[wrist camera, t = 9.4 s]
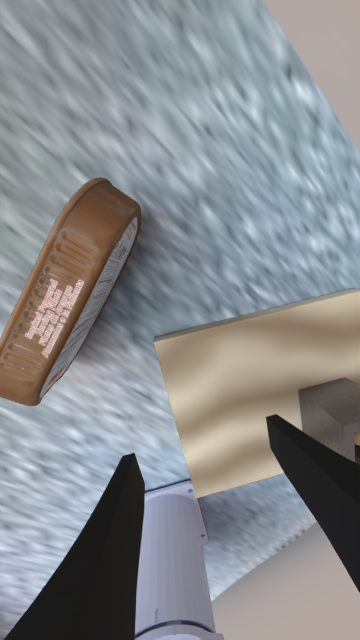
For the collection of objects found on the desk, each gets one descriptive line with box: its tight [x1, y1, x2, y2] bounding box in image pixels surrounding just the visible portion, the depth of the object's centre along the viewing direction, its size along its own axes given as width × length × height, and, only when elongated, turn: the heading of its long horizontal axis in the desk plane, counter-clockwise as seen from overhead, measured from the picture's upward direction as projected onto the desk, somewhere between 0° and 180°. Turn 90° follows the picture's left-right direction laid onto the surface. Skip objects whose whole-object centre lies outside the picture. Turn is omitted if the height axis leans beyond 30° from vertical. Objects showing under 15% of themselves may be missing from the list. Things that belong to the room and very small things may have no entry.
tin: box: [0, 177, 141, 406], centre depth 13 cm, size 15×3×8 cm, turn 150°
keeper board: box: [154, 289, 360, 498], centre depth 18 cm, size 18×20×6 cm
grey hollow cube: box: [298, 377, 360, 465], centre depth 18 cm, size 5×5×5 cm
